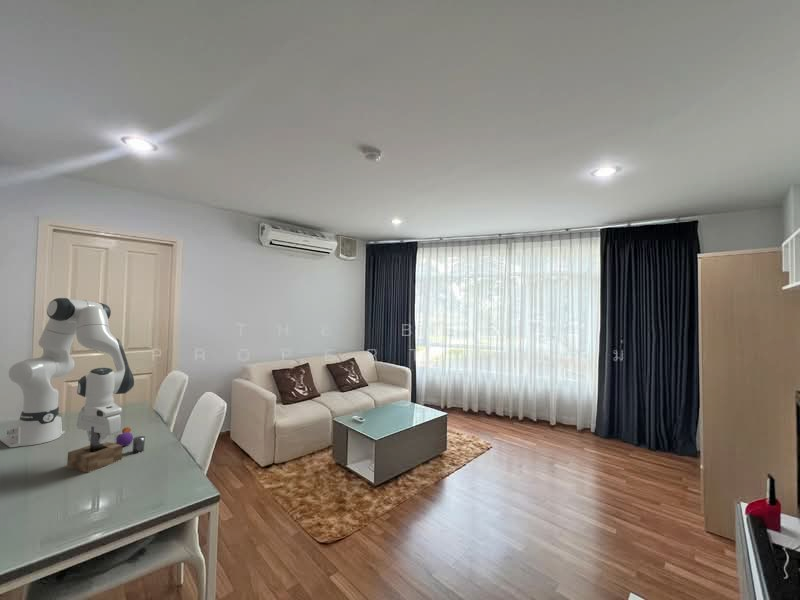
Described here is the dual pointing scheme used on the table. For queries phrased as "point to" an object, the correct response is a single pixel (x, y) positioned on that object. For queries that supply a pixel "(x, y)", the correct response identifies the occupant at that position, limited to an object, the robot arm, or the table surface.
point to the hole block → (94, 457)
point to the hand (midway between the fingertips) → (96, 442)
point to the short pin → (138, 444)
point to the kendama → (125, 437)
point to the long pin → (95, 441)
